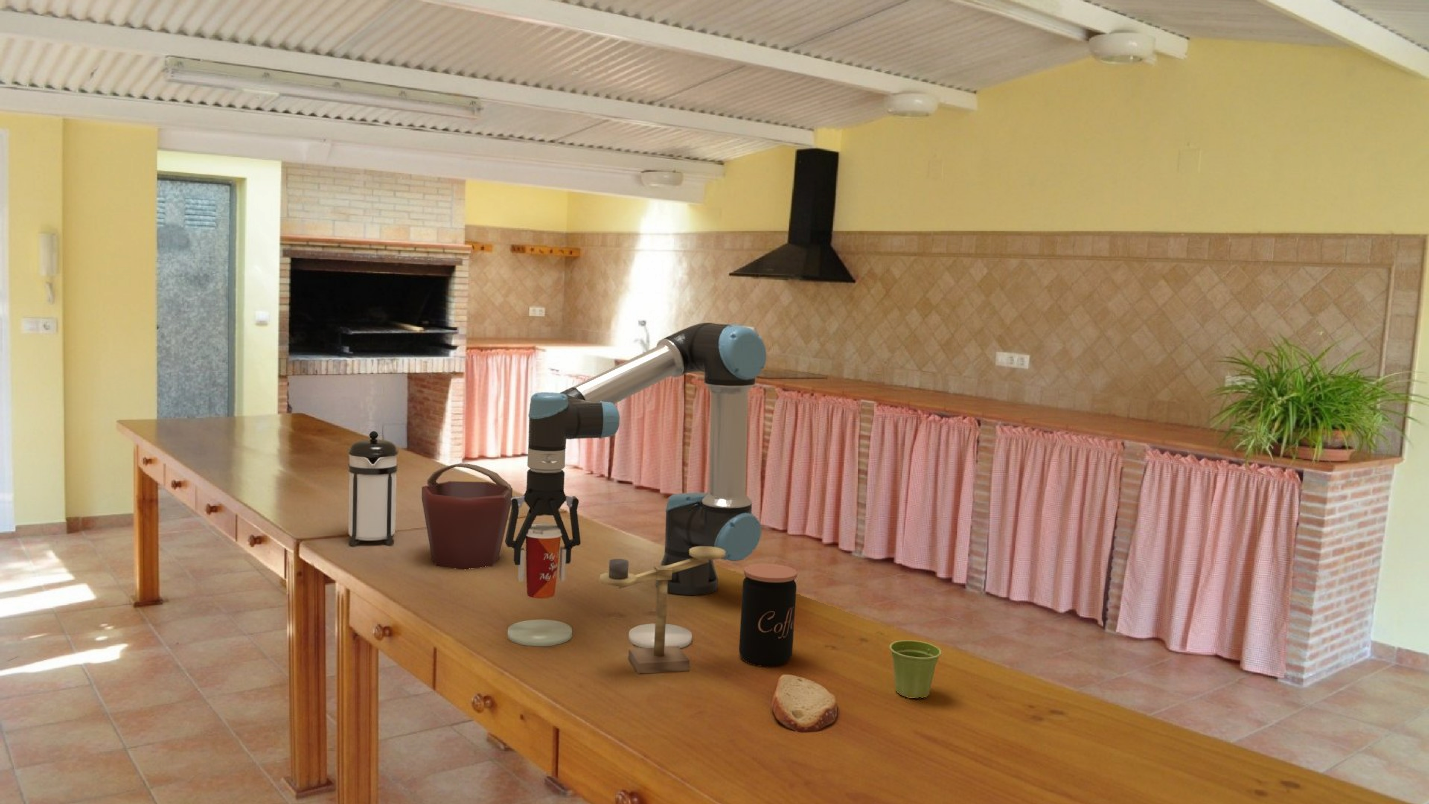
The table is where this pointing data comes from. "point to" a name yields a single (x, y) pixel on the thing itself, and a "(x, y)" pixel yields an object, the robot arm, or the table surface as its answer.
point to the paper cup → (542, 560)
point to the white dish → (673, 636)
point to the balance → (658, 608)
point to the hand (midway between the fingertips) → (541, 579)
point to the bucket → (466, 519)
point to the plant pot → (914, 666)
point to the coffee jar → (767, 614)
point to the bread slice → (803, 704)
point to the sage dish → (539, 632)
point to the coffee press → (372, 490)
